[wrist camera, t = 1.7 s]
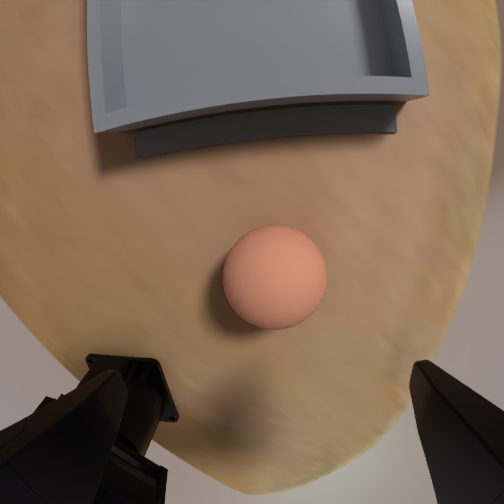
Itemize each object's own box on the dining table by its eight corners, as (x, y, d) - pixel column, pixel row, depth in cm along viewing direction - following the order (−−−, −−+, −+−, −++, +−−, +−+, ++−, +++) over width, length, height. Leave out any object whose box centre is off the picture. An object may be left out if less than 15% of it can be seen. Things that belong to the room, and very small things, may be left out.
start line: (396, 132, 15) (397, 132, 15) (138, 158, 17) (137, 158, 17) (393, 104, 14) (394, 104, 14) (135, 132, 16) (134, 132, 16)
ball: (323, 295, 19) (332, 346, 14) (238, 301, 19) (222, 351, 15) (319, 210, 17) (331, 240, 12) (226, 218, 18) (203, 249, 13)
